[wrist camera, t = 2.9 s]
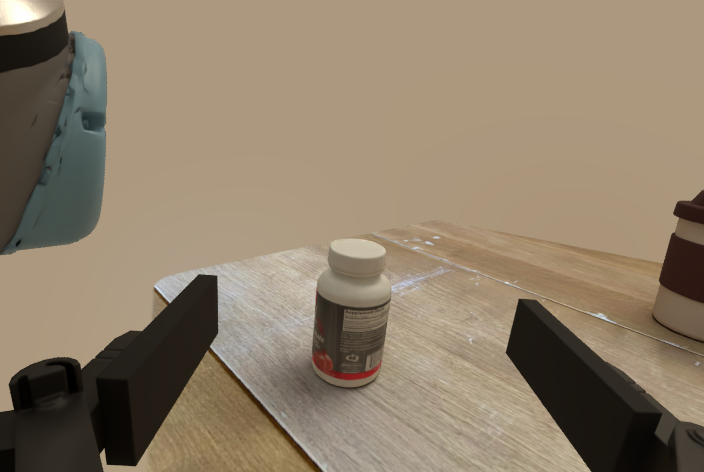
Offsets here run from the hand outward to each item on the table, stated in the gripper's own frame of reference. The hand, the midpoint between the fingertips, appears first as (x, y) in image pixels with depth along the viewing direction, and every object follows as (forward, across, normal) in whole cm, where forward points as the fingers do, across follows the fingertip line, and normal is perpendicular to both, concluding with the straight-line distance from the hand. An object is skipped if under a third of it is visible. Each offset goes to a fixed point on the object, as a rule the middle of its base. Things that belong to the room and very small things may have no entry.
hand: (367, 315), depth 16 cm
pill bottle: (+10, 0, -10) cm, 14 cm away
